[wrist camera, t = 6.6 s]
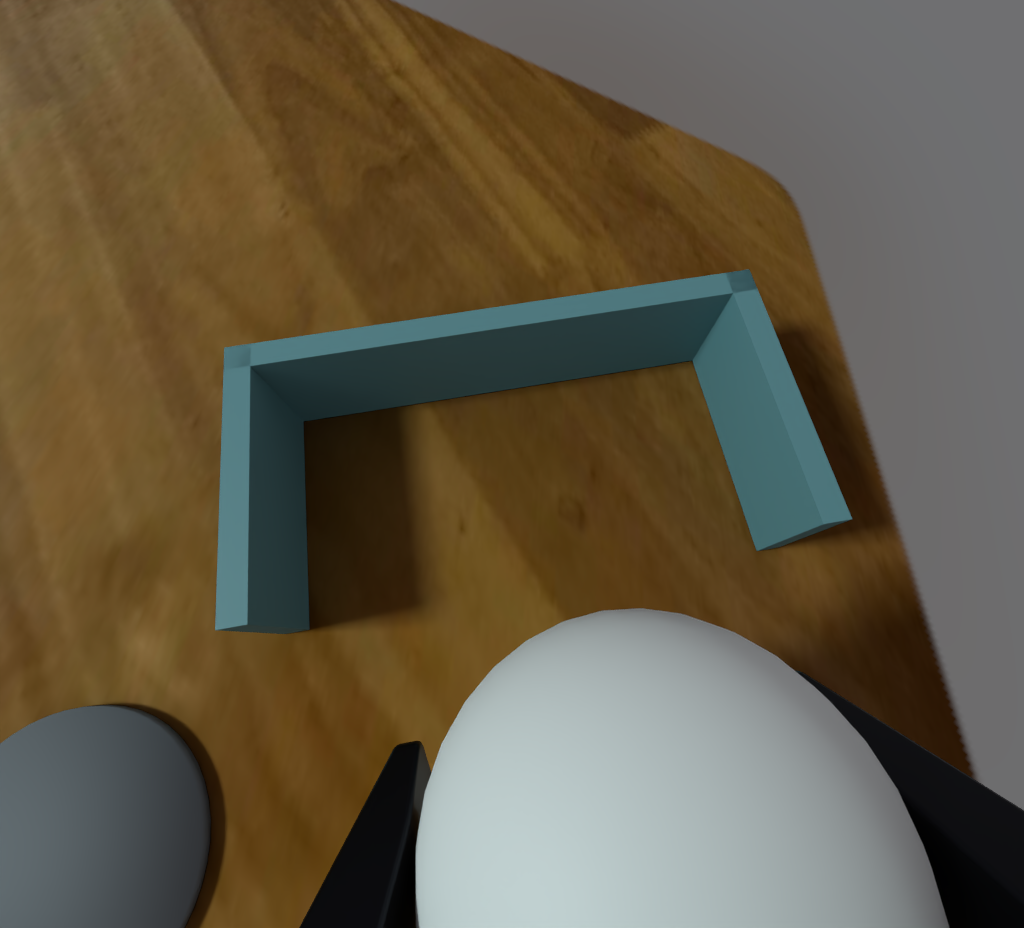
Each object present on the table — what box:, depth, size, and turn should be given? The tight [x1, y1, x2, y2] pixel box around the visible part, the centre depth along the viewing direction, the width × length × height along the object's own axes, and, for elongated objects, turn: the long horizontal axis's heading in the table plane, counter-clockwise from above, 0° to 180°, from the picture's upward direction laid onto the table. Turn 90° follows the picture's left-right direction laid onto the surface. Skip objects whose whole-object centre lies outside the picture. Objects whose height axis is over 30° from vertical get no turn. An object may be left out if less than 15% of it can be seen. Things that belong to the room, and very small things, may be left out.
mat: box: [0, 705, 211, 928], centre depth 18 cm, size 10×10×1 cm
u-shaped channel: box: [215, 270, 852, 634], centre depth 20 cm, size 10×21×5 cm, turn 100°
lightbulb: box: [415, 608, 949, 928], centre depth 9 cm, size 6×6×11 cm
